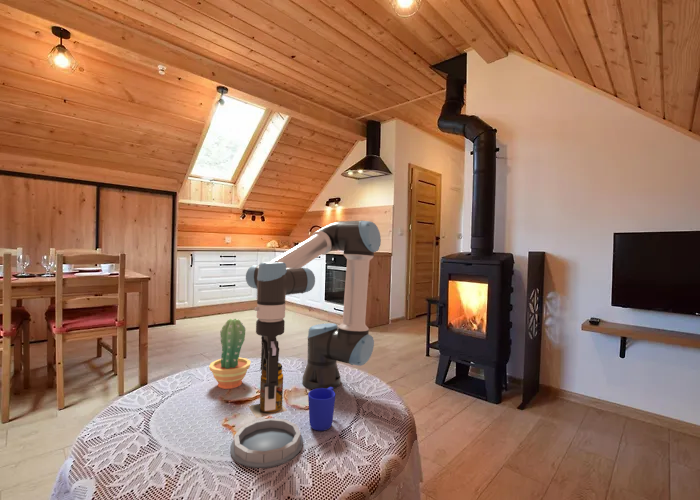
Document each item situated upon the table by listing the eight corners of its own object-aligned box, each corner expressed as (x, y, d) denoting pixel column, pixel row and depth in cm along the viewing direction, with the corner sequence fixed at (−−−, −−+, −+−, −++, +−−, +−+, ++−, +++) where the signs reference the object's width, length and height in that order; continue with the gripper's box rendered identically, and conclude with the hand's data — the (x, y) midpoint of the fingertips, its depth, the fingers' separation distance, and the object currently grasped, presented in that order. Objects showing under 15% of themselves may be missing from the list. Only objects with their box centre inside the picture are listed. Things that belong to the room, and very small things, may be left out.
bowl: (293, 422, 106) (293, 412, 106) (310, 458, 88) (311, 446, 88) (228, 433, 99) (228, 423, 99) (233, 475, 81) (233, 462, 81)
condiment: (287, 411, 92) (289, 366, 92) (256, 418, 88) (258, 372, 88) (277, 400, 98) (278, 358, 98) (248, 407, 94) (249, 363, 94)
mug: (342, 416, 110) (343, 385, 110) (328, 436, 99) (329, 401, 99) (319, 412, 113) (320, 381, 113) (302, 430, 102) (303, 396, 101)
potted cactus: (259, 382, 136) (260, 319, 135) (226, 396, 123) (227, 326, 122) (233, 373, 144) (234, 314, 144) (199, 385, 131) (201, 320, 131)
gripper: (252, 312, 100) (249, 391, 100) (261, 327, 83) (258, 423, 83) (277, 311, 103) (275, 388, 103) (292, 326, 86) (289, 418, 86)
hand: (267, 403), depth 93 cm, fingers closed on condiment, 6 cm apart
